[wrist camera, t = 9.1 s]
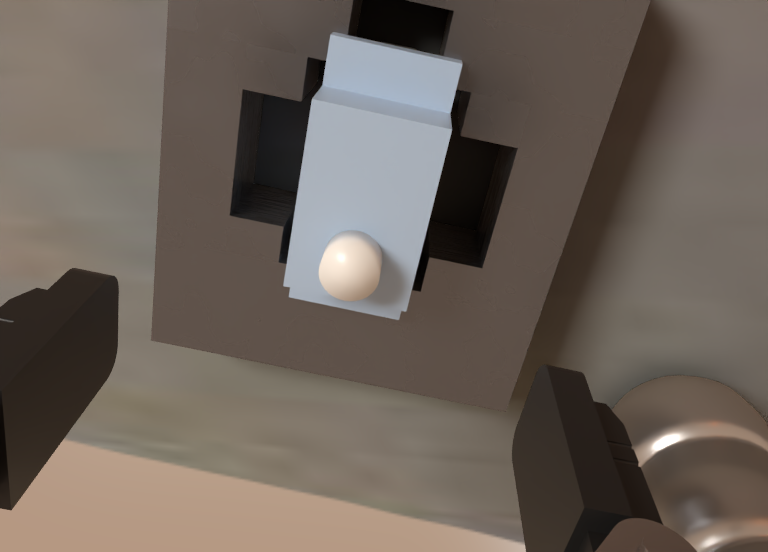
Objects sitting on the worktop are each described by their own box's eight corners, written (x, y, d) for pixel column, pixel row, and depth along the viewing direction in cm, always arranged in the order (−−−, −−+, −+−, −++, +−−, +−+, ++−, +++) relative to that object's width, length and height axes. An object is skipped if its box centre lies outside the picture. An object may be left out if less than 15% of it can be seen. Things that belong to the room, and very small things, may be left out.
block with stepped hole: (212, -126, 22) (175, -138, 19) (628, -33, 22) (661, -29, 19) (181, 297, 29) (151, 340, 26) (498, 362, 29) (505, 411, 26)
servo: (345, 20, 23) (313, 49, 17) (457, 45, 24) (468, 83, 17) (307, 251, 27) (269, 345, 21) (403, 271, 28) (394, 371, 21)
